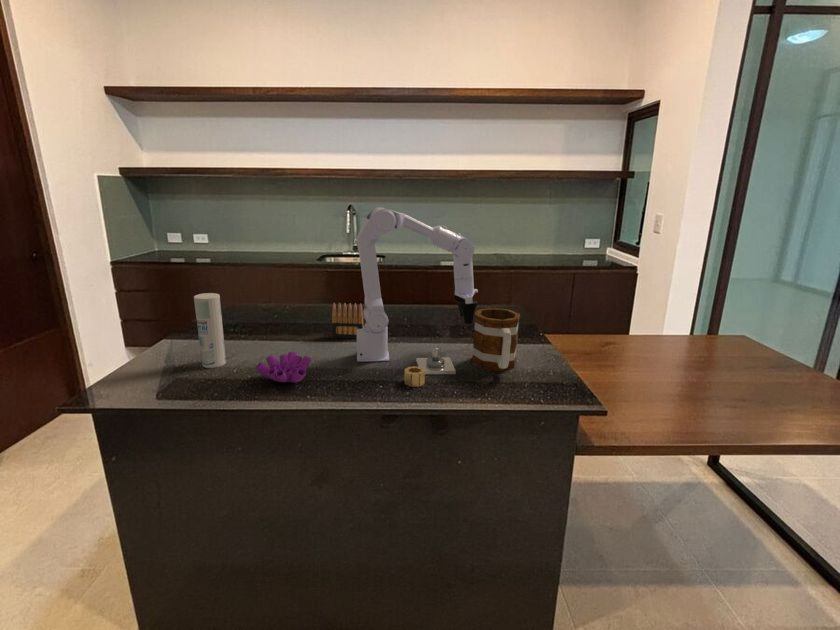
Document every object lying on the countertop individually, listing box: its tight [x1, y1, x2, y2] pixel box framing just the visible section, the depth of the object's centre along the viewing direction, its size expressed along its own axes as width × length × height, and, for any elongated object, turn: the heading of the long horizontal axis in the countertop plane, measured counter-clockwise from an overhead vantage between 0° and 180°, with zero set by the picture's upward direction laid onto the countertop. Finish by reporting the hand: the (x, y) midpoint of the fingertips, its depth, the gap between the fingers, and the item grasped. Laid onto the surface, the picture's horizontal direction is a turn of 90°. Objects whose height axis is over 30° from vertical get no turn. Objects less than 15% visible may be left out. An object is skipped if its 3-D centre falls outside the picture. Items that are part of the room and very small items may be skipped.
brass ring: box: [404, 365, 426, 388], centre depth 124 cm, size 5×5×4 cm
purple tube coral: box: [254, 351, 312, 383], centre depth 124 cm, size 11×15×10 cm
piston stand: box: [415, 346, 457, 376], centre depth 134 cm, size 10×10×6 cm
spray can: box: [193, 292, 227, 369], centre depth 131 cm, size 6×6×20 cm
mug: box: [471, 307, 521, 372], centre depth 135 cm, size 20×14×15 cm
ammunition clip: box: [331, 302, 364, 339], centre depth 157 cm, size 11×2×12 cm, turn 89°
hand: (466, 319), depth 146 cm, fingers open, 7 cm apart
